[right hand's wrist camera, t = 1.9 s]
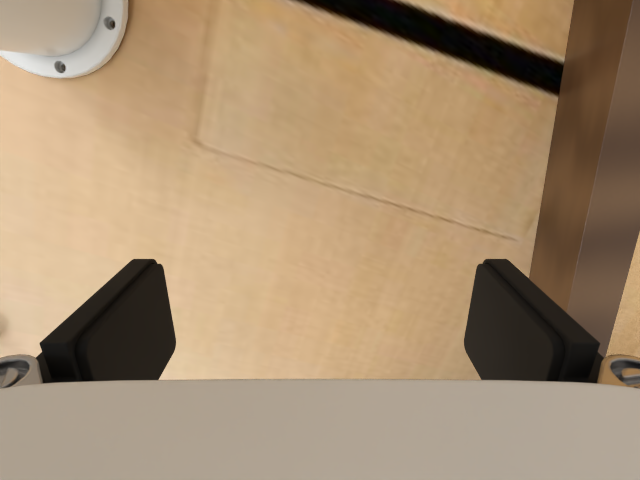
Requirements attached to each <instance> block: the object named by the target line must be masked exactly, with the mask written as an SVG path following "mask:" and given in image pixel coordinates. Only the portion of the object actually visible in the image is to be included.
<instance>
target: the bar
mask: <svg viewBox="0 0 640 480" xmlns="http://www.w3.org/2000/svg"><path fill="white" fill-rule="evenodd" d="M639 231H640V0H575V1H574V7H573V13H572V19H571V25H570V31H569V37H568V44H567V50H566V56H565V62H564V68H563V74H562V80H561V86H560V93H559V99H558V105H557V111H556V117H555V123H554V129H553V136H552V142H551V148H550V154H549V160H548V166H547V172H546V178H545V185H544V191H543V197H542V203H541V209H540V215H539V221H538V228H537V234H536V240H535V246H534V252H533V258H532V264H531V270H530V277H529V279H530V280H531V281H532V282H533V283H534V284H535V285H536V286H537V287H538V288H540V289H541V290H542V291H543V292H544V293H545V294H546V295H547V296H548V297H550V298H551V299H552V300H553V301H554V302H555V303H556V304H557V305H558V306H560V307H561V308H562V309H563V310H564V311H565V312H566V313H567V314H568V315H570V316H571V317H572V318H573V319H574V320H575V321H576V322H577V323H578V324H580V325H581V326H582V327H583V328H584V329H585V330H586V331H587V332H588V333H590V334H591V335H592V336H593V337H594V338H595V339H596V340H597V341H598V342H600V346H599V349H598V353H599V354H601V355H602V356H603V357H604V358H605V356H606V353H607V349H608V345H609V341H610V338H611V334H612V330H613V327H614V323H615V319H616V316H617V312H618V308H619V305H620V301H621V297H622V294H623V290H624V286H625V283H626V279H627V275H628V272H629V268H630V264H631V261H632V257H633V253H634V250H635V246H636V242H637V239H638V235H639Z"/></svg>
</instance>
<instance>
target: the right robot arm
mask: <svg viewBox="0 0 640 480" xmlns="http://www.w3.org/2000/svg"><path fill="white" fill-rule="evenodd" d="M127 19H128V0H0V56H2V57H3V58H5V59H6V60H7V61H9V62H10V63H12V64H13V65H15V66H17V67H19V68H21V69H23V70H25V71H28V72H30V73H33V74H37V75H40V76H44V77H52V78H76V77H80V76H84V75H88V74H90V73H92V72H94V71H96V70H98V69H100V68H101V67H102V66H103V65H104V64H105V63H107V62H108V61H109V60H110V59H111V57H112V56H113V55H114V53H115V52H116V51H117V49H118V48H119V45H120V43H121V41H122V38H123V36H124V34H125V29H126V24H127ZM113 22H115V28H114V27H113ZM65 66H66V69H65ZM40 346H41V349H42V353H41V354H39V355H38V356H37V357H36V358H35V357H33V356H30V355H20V354H19V355H11V356H6V357H2V358H0V480H640V358H638V357H634V356H629V355H621V354H620V355H610V356H607V357H605V358H604V357H603V356H602V355H601V354H599V353H598V349H599V346H600V342H598V341H597V340H596V339H595V338H594V337H593V336H592V335H591V334H590V333H588V332H587V331H586V330H585V329H584V328H583V327H582V326H581V325H580V324H578V323H577V322H576V321H575V320H574V319H573V318H572V317H571V316H570V315H568V314H567V313H566V312H565V311H564V310H563V309H562V308H561V307H560V306H558V305H557V304H556V303H555V302H554V301H553V300H552V299H551V298H550V297H548V296H547V295H546V294H545V293H544V292H543V291H542V290H541V289H540V288H538V287H537V286H536V285H535V284H534V283H533V282H532V281H531V280H530V279H528V278H527V277H526V276H525V275H524V274H523V273H522V272H521V271H520V270H518V269H517V268H516V267H515V266H514V265H513V264H512V263H511V262H510V261H508V260H507V259H486V260H485V261H484V262H483V264H479V265H478V266H477V269H476V275H475V280H474V286H473V292H472V298H471V303H470V309H469V315H468V321H467V326H466V332H465V338H464V346H465V350H466V353H467V354H468V356H469V358H470V360H471V362H472V363H473V365H474V367H475V369H476V370H477V372H478V374H479V376H480V378H481V379H482V380H418V379H214V380H158V379H159V378H160V376H161V374H162V372H163V370H164V369H165V367H166V365H167V363H168V362H169V360H170V358H171V356H172V354H173V353H174V350H175V346H176V338H175V332H174V326H173V321H172V315H171V309H170V303H169V298H168V292H167V286H166V280H165V275H164V269H163V266H162V265H161V264H157V262H156V261H155V260H154V259H133V260H132V261H130V262H129V263H128V264H127V265H126V266H125V267H124V268H123V269H122V270H120V271H119V272H118V273H117V274H116V275H115V276H114V277H113V278H112V279H110V280H109V281H108V282H107V283H106V284H105V285H104V286H103V287H102V288H100V289H99V290H98V291H97V292H96V293H95V294H94V295H93V296H92V297H90V298H89V299H88V300H87V301H86V302H85V303H84V304H83V305H82V306H80V307H79V308H78V309H77V310H76V311H75V312H74V313H73V314H72V315H70V316H69V317H68V318H67V319H66V320H65V321H64V322H63V323H62V324H60V325H59V326H58V327H57V328H56V329H55V330H54V331H53V332H52V333H50V334H49V335H48V336H47V337H46V338H45V339H44V340H43V341H42V342H40Z"/></svg>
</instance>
